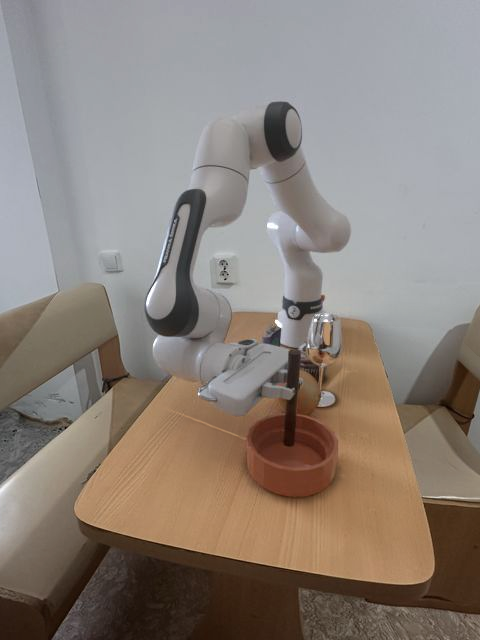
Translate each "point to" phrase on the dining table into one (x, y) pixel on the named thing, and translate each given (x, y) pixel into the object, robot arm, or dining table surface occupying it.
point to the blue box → (272, 336)
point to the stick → (291, 404)
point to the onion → (304, 394)
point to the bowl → (292, 455)
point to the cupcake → (309, 364)
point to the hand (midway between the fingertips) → (297, 389)
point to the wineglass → (324, 347)
